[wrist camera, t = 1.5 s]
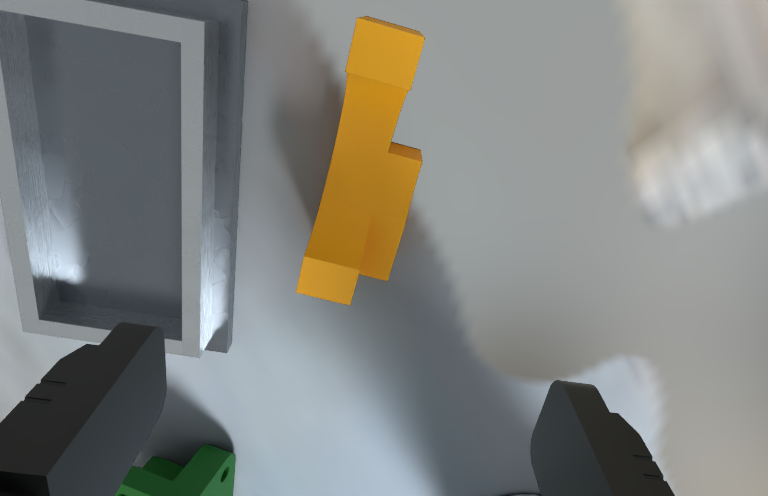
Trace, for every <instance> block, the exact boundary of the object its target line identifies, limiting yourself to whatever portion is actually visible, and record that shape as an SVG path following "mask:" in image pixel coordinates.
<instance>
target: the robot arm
mask: <svg viewBox="0 0 768 496" xmlns="http://www.w3.org/2000/svg"><path fill="white" fill-rule="evenodd" d="M165 397H166V362H165V339H164V331H163V329H162V328H161V327H157V326H150V325H142V324H135V323H127V322H121V323H119V324H117V325H116V326H115V328H114V329H113V330H112V331H111V332H110V333H109V334H108V336H107V337H106V338H105V339H104V340H103V341H102V343H101V344H100V345H91V344H86V345H84V346H82V347H81V348H79V349H77V350H76V351H74V352H72V353H70V354H69V355H67V356H65V357H63V358H62V359H60V360H59V361H58V362H57V363H56V364H55V365H54V366H53V367H52V368H51V370H50V371H49V372H48V373H47V374H46V375H45V376H44V377H43V378H42V379H41V383H40V384H36V386H35V387H34V388H33V389H32V390H31V391H30V392H29V393H28V394H27V395H26V396H25V400H24V401H21V402H20V403H19V404H18V405H17V406H16V407H15V408H14V409H13V410H12V411H11V412H10V413H9V414H8V415H7V416H6V418H5V419H4V420H3V421H2V422H1V423H0V496H115V494H116V493H117V491H118V489H119V487H120V486H121V484H122V482H123V480H124V478H125V477H126V475H127V473H128V471H129V470H130V468H131V466H132V464H133V463H134V461H135V459H136V457H137V455H138V454H139V452H140V450H141V448H142V447H143V445H144V443H145V441H146V440H147V438H148V436H149V434H150V432H151V431H152V429H153V427H154V425H155V424H156V422H157V420H158V418H159V416H160V414H161V411H162V408H163V405H164V401H165ZM531 461H532V466H533V469H534V473H535V476H536V479H537V483H538V486H539V489H540V492H541V496H675V495H674V493H673V492H672V490H671V488H670V486H669V485H668V483H667V481H664V480H663V477H664V476H663V474H662V473H661V471H660V469H659V467H658V466H657V464H656V462H654V461H652V455H651V454H650V452H649V450H648V448H647V447H646V445H645V443H644V441H643V440H642V438H641V436H640V435H639V433H638V432H637V431H636V430H634V429H633V428H632V427H631V426H630V425H629V424H628V423H627V422H626V421H625V420H624V419H623V418H622V417H621V416H620V415H619V414H618V413H610V412H609V410H608V408H607V406H606V404H605V402H604V401H603V399H602V397H601V395H600V393H599V391H598V390H597V388H596V387H595V386H593V385H591V384H583V383H575V382H568V381H560V380H556V381H554V382H553V383H552V385H551V386H550V389H549V391H548V394H547V397H546V399H545V402H544V405H543V407H542V410H541V413H540V415H539V418H538V421H537V423H536V426H535V429H534V431H533V435H532V439H531ZM512 496H538V495H512Z"/></svg>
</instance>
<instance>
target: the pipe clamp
mask: <svg viewBox="0 0 768 496" xmlns="http://www.w3.org/2000/svg"><path fill="white" fill-rule="evenodd" d="M424 40H425V37H424V36H423V35H422V34H421V33H420V32H419V31H416V30H412V29H409V28H406V27H403V26H399V25H396V24H392V23H389V22H386V21H382V20H379V19H375V18H372V17H369V16H365V17H360V18H357V21H356V26H355V30H354V35H353V39H352V44H351V48H350V53H349V57H348V61H347V66H346V70H345V72H347V83H346V91H345V97H344V103H343V108H342V113H341V118H340V123H339V128H338V133H337V137H336V142H335V146H334V151H333V155H332V159H331V163H330V167H329V171H328V176H327V180H326V183H325V187H324V191H323V195H322V199H321V203H320V206H319V210H318V213H317V217H316V220H315V224H314V227H313V231H312V234H311V237H310V240H309V243H308V246H307V249H306V252H305V255H304V258H303V263H302V267H301V272H300V276H299V281H298V285H297V290H296V293H300V294H304V295H309V296H313V297H317V298H321V299H325V300H329V301H333V302H337V303H342V304H346V305H350V304H351V300H352V297H353V293H354V290H355V286H356V283H357V279H358V275H359V274H361V275H365V276H369V277H373V278H377V279H381V280H385V281H388V278H389V275H390V272H391V269H392V265H393V262H394V259H395V256H396V252H397V249H398V246H399V243H400V240H401V236H402V233H403V230H404V227H405V223H406V220H407V216H408V211H409V207H410V203H411V199H412V196H413V192H414V188H415V185H416V181H417V178H418V174H419V171H420V168H421V165H422V156H421V150H420V149H417V148H413V147H409V146H405V145H402V144H398V143H395V142H391V140H392V136H393V133H394V130H395V126H396V123H397V120H398V117H399V114H400V111H401V108H402V105H403V102H404V100H405V97H406V95H407V92H408V91H409V90H411V86H412V83H413V79H414V76H415V72H416V68H417V65H418V61H419V57H420V54H421V51H422V47H423V43H424Z"/></svg>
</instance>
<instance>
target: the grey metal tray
mask: <svg viewBox="0 0 768 496" xmlns="http://www.w3.org/2000/svg"><path fill="white" fill-rule="evenodd" d="M247 6H248V1H242V0H0V196H1V202H2V209H3V215H4V221H5V227H6V233H7V239H8V245H9V251H10V257H11V263H12V269H13V275H14V281H15V287H16V293H17V299H18V305H19V311H20V317H21V323H22V329H23V332H29V333H35V334H42V335H49V336H55V337H62V338H69V339H76V340H82V341H89V342H96V343H102V341H103V340H104V339H105V338H106V337H107V336H108V334H109V333H110V332H111V331H112V330H113V329H114V328H115V326H116V325H117V324H119V323H121V322H127V323H135V324H142V325H150V326H157V327H161V328H162V329H163V331H164V339H165V353H170V354H177V355H183V356H190V357H197V358H200V356H201V355H202V353H203V351H204V350H209V351H216V352H223V353H227V352H228V350H229V348H230V346H231V344H232V324H233V303H234V282H235V260H236V239H237V218H238V197H239V176H240V155H241V133H242V112H243V91H244V70H245V49H246V27H247Z"/></svg>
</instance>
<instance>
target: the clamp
mask: <svg viewBox="0 0 768 496" xmlns="http://www.w3.org/2000/svg"><path fill="white" fill-rule="evenodd" d="M235 460H236V457H235V454H233V453H230V452H228V451H225V450H222V449H220V448H217V447H214V446H212V445H209V444H205V445H203V446H202V447H201V448H200V449H199V450H198V451H197V453H196V454H195V455H194V456H193V457H192V459H191V460H190V461H189V462H188V464H187V465H186V466H185V467H183V466H181V465H178V464H176V463H173V462H171V461H168V460H165V459H163V458H160V457H155V456H153V457H152V458H151V459H150V460H149V461H148V462H147V463H146V465H145V466H144V467H143V468H142V469H141V468H138V467H134V466H131V468H130V470H129V471H128V473H127V475H126V477H125V478H124V480H123V482H122V484H121V486H120V487H119V489H118V491H117V493H116V494H115V496H233V487H234V473H235Z"/></svg>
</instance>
